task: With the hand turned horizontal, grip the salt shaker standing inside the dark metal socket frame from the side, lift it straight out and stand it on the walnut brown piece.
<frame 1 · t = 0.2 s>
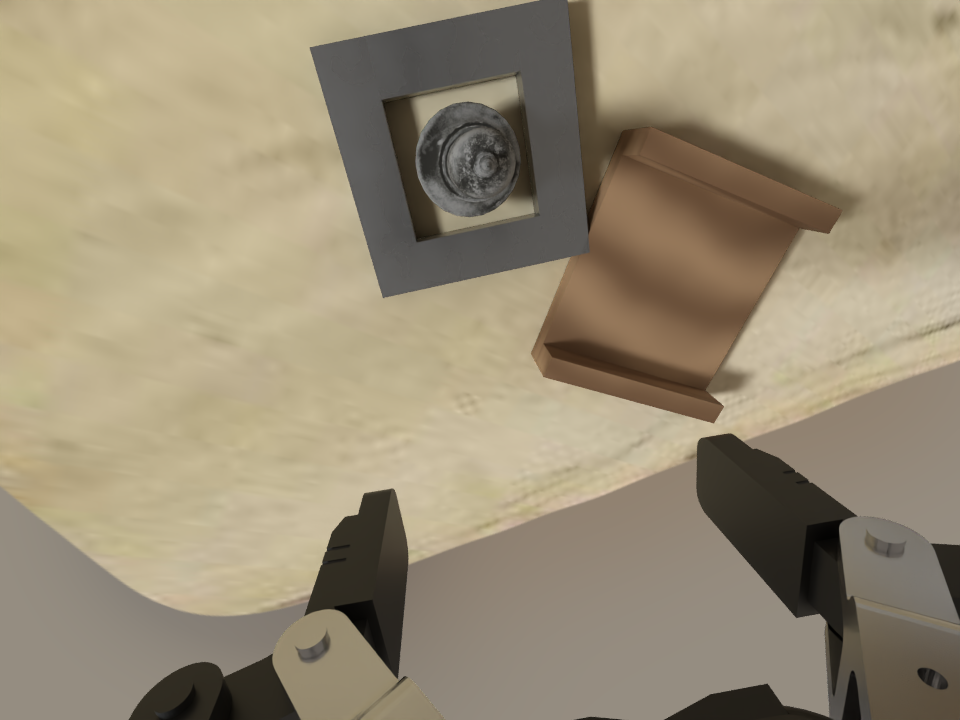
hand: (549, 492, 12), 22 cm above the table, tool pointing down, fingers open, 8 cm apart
salt shaker: (463, 161, 29), resting in socket frame
brown piece: (658, 281, 33), on the table
socket frame: (463, 161, 29), on the table
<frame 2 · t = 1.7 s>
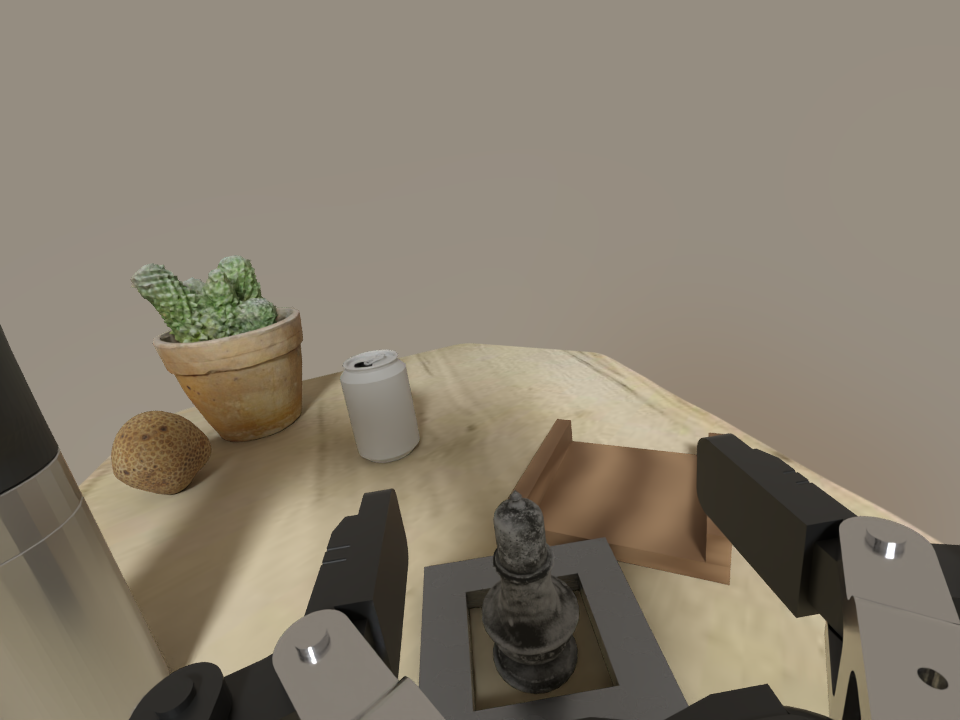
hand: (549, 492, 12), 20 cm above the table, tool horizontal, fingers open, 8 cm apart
natural sponge: (175, 491, 54), on the table
can: (391, 450, 56), on the table
potted plant: (263, 424, 69), on the table
salt shaker: (535, 653, 29), resting in socket frame
brown piece: (625, 503, 41), on the table
socket frame: (534, 650, 29), on the table
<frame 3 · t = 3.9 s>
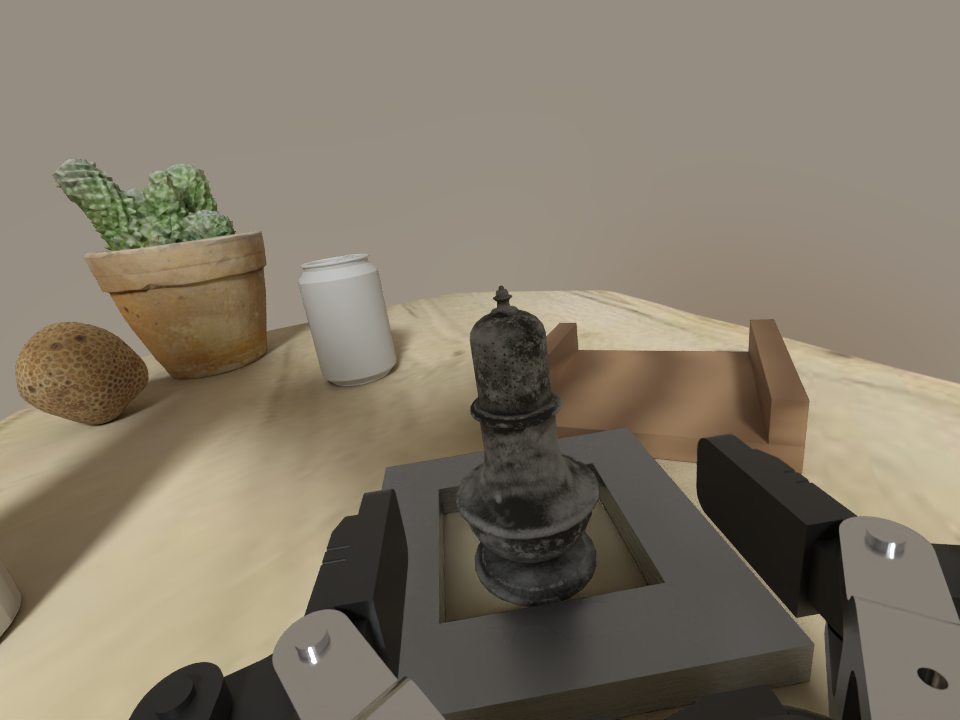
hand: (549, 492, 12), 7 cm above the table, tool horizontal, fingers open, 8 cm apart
natural sponge: (102, 423, 45), on the table
can: (362, 377, 47), on the table
potted plant: (222, 364, 60), on the table
salt shaker: (535, 559, 20), resting in socket frame
brown piece: (647, 403, 32), on the table
socket frame: (534, 555, 20), on the table
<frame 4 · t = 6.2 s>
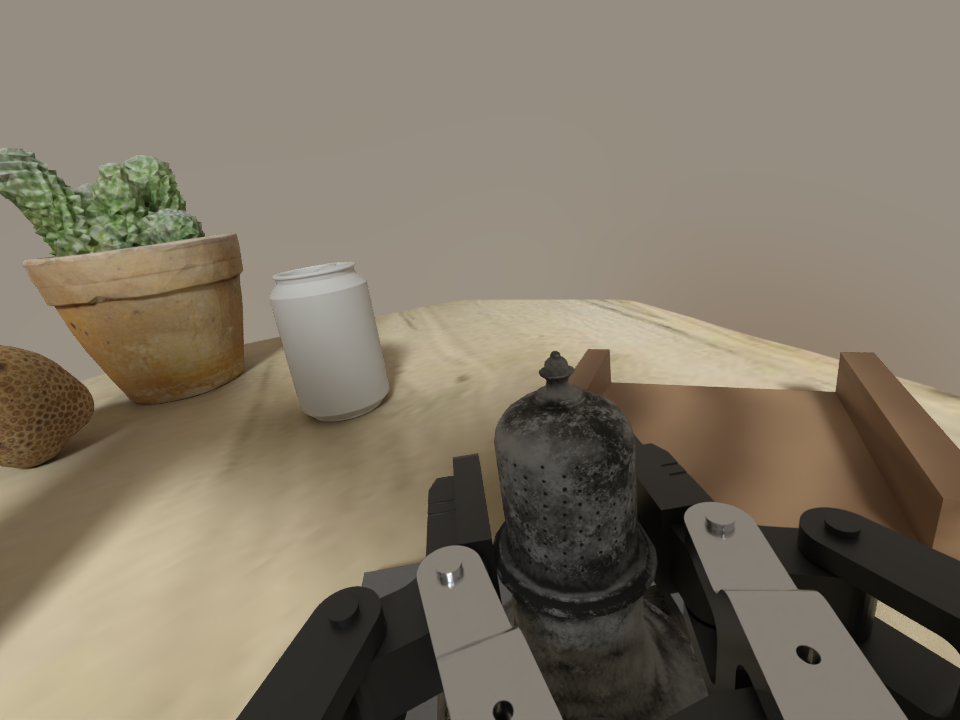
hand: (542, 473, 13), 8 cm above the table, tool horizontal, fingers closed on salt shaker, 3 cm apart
natural sponge: (36, 465, 37), on the table
can: (349, 408, 40), on the table
potted plant: (192, 385, 52), on the table
brown piece: (712, 464, 25), on the table
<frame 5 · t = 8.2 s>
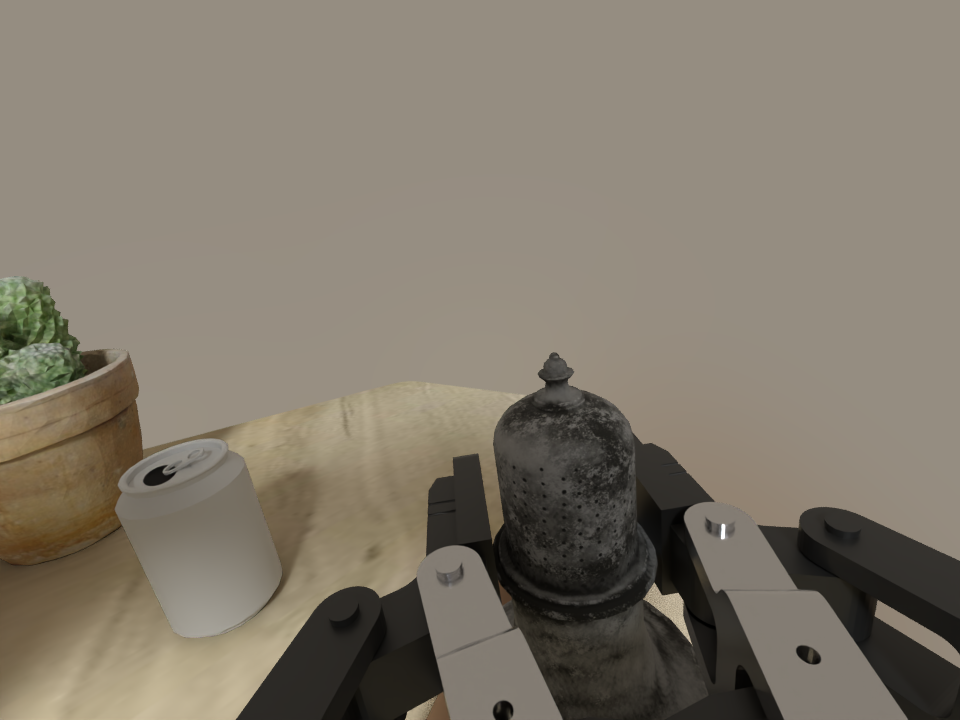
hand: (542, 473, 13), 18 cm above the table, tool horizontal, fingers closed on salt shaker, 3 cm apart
can: (233, 602, 34), on the table
potted plant: (81, 525, 46), on the table
when the fingers open (10 cm above the table, at t = 10.3 s): salt shaker stays where it is, resting on brown piece.
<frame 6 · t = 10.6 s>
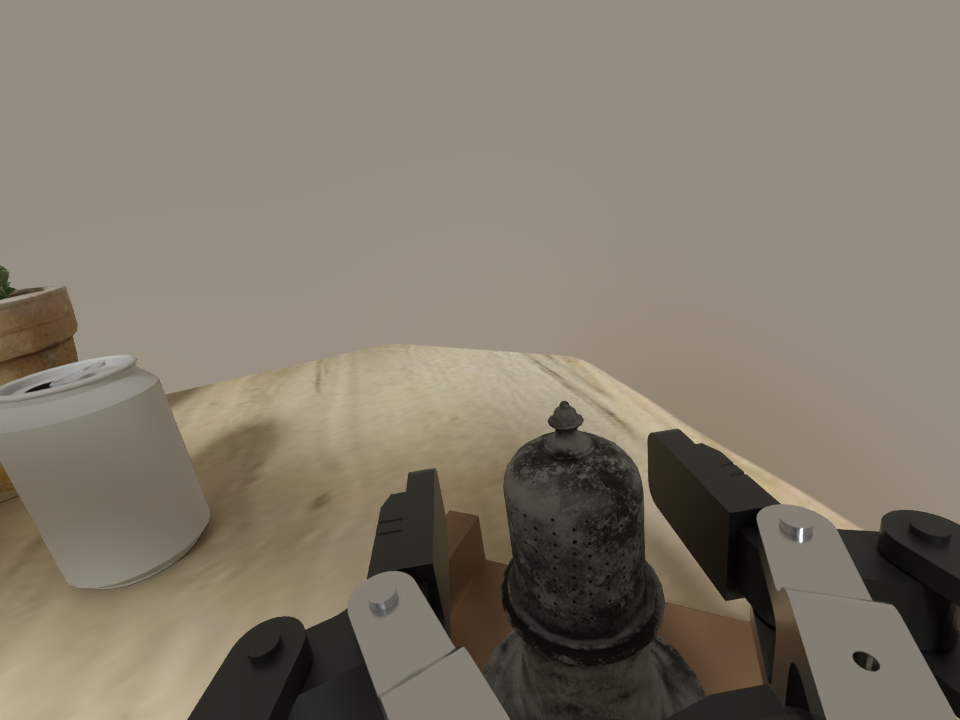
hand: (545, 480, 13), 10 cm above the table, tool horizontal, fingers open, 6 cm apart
can: (149, 553, 28), on the table
potted plant: (11, 479, 41), on the table
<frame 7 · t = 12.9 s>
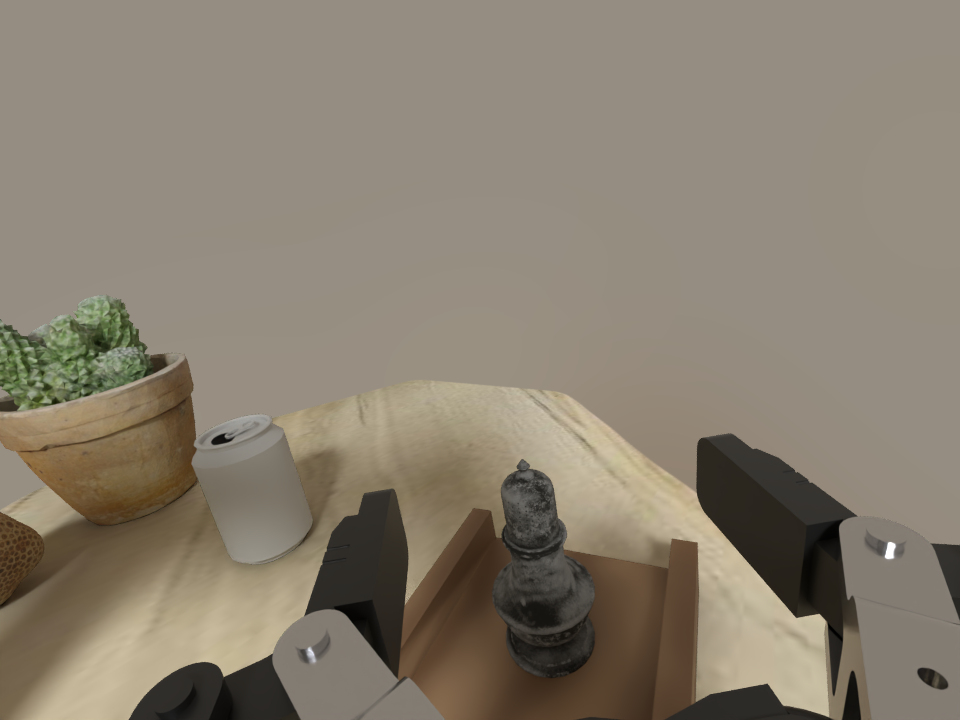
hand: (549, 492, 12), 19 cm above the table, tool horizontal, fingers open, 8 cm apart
can: (275, 543, 43), on the table
potted plant: (148, 497, 56), on the table
salt shaker: (550, 637, 27), point 1 cm above the table, touching brown piece
brown piece: (550, 651, 28), on the table
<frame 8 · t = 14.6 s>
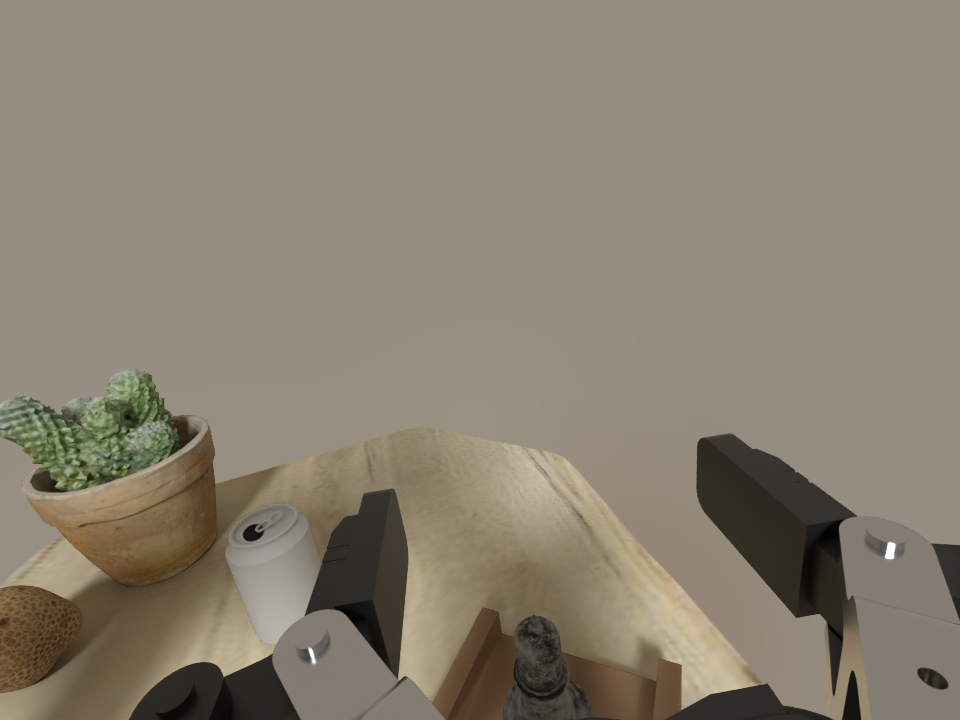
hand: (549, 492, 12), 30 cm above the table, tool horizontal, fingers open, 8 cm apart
natural sponge: (33, 678, 45), on the table
can: (297, 619, 47), on the table
potted plant: (170, 554, 60), on the table
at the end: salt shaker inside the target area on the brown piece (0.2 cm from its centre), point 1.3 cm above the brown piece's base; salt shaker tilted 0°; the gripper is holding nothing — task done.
